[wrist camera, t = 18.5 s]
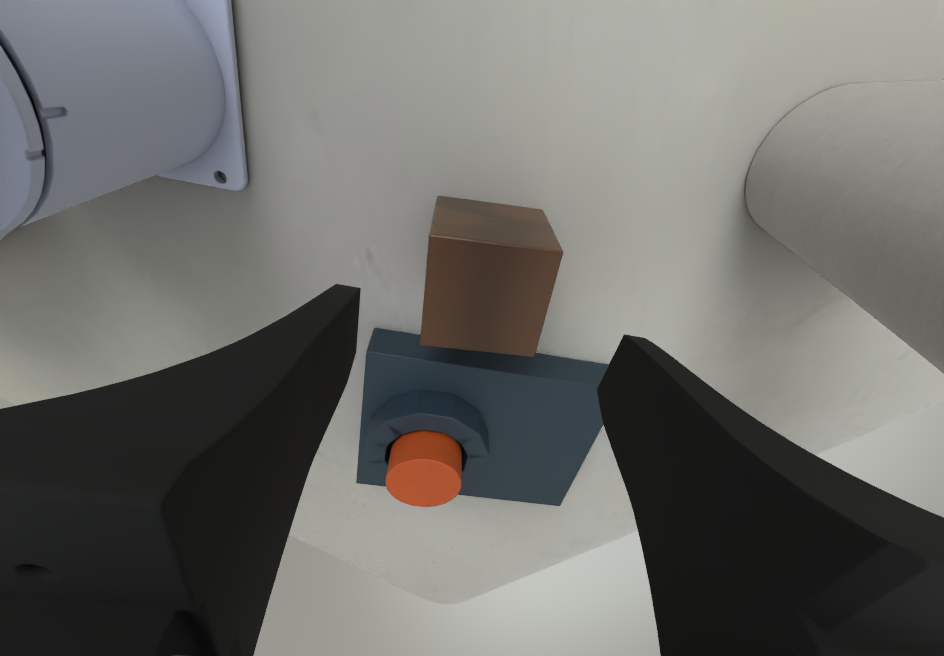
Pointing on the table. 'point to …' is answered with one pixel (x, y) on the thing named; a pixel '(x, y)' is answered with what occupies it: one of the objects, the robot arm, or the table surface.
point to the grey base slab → (482, 414)
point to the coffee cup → (864, 199)
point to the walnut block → (488, 277)
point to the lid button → (424, 468)
